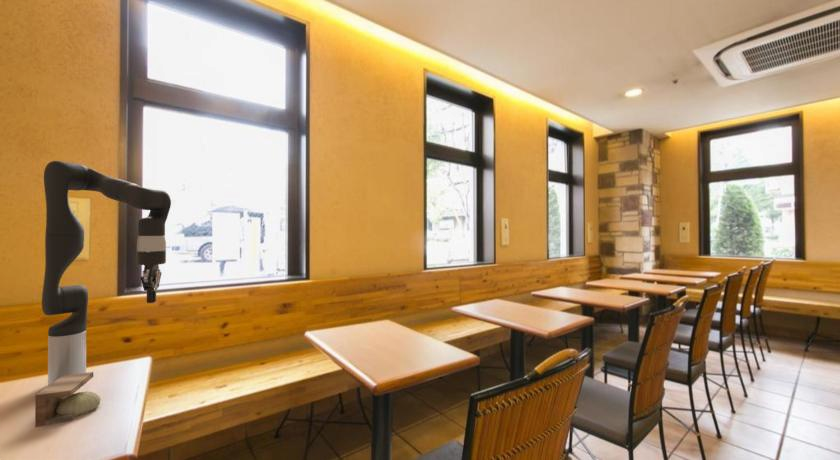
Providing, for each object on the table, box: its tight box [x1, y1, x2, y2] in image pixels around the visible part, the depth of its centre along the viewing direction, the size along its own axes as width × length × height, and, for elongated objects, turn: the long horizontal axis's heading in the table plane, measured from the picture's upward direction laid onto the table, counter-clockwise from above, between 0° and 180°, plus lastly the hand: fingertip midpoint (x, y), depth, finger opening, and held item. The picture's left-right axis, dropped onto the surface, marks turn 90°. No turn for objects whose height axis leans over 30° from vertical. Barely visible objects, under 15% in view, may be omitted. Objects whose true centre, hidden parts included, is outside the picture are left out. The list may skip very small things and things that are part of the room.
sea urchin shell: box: [56, 391, 101, 417], centre depth 102 cm, size 9×8×8 cm
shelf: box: [34, 371, 94, 428], centre depth 101 cm, size 14×7×8 cm, turn 24°
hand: (151, 302), depth 115 cm, fingers closed
